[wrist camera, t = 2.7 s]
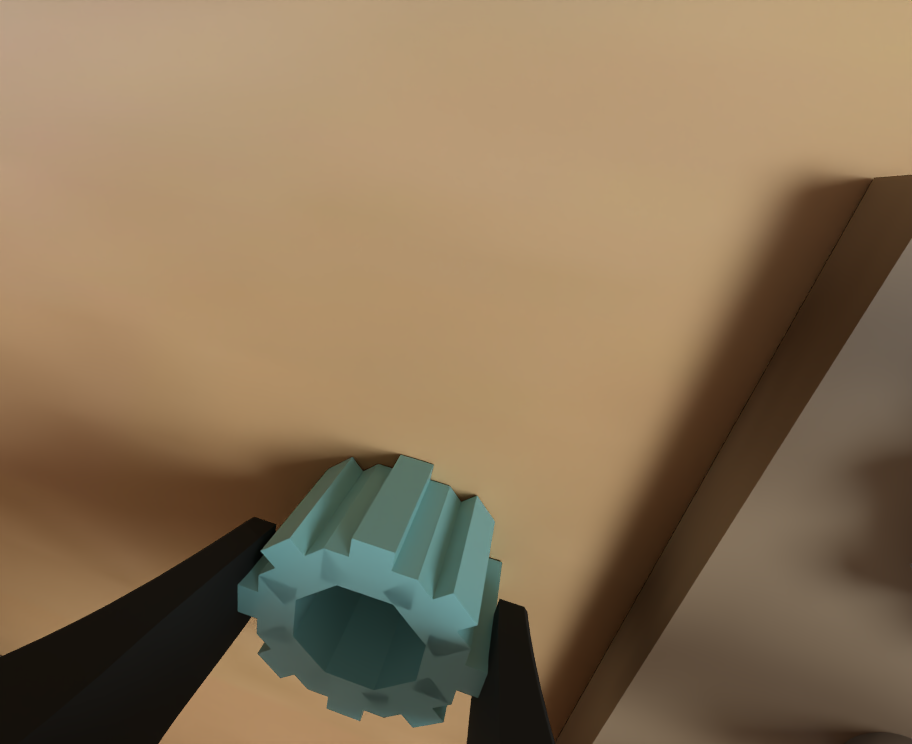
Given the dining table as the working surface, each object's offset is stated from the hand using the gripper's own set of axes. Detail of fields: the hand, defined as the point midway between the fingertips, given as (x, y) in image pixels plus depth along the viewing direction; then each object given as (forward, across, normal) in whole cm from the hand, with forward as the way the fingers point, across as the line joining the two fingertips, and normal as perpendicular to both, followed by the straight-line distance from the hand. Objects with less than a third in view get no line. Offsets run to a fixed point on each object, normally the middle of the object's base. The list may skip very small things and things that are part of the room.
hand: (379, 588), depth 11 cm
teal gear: (+2, 0, 0) cm, 2 cm away
